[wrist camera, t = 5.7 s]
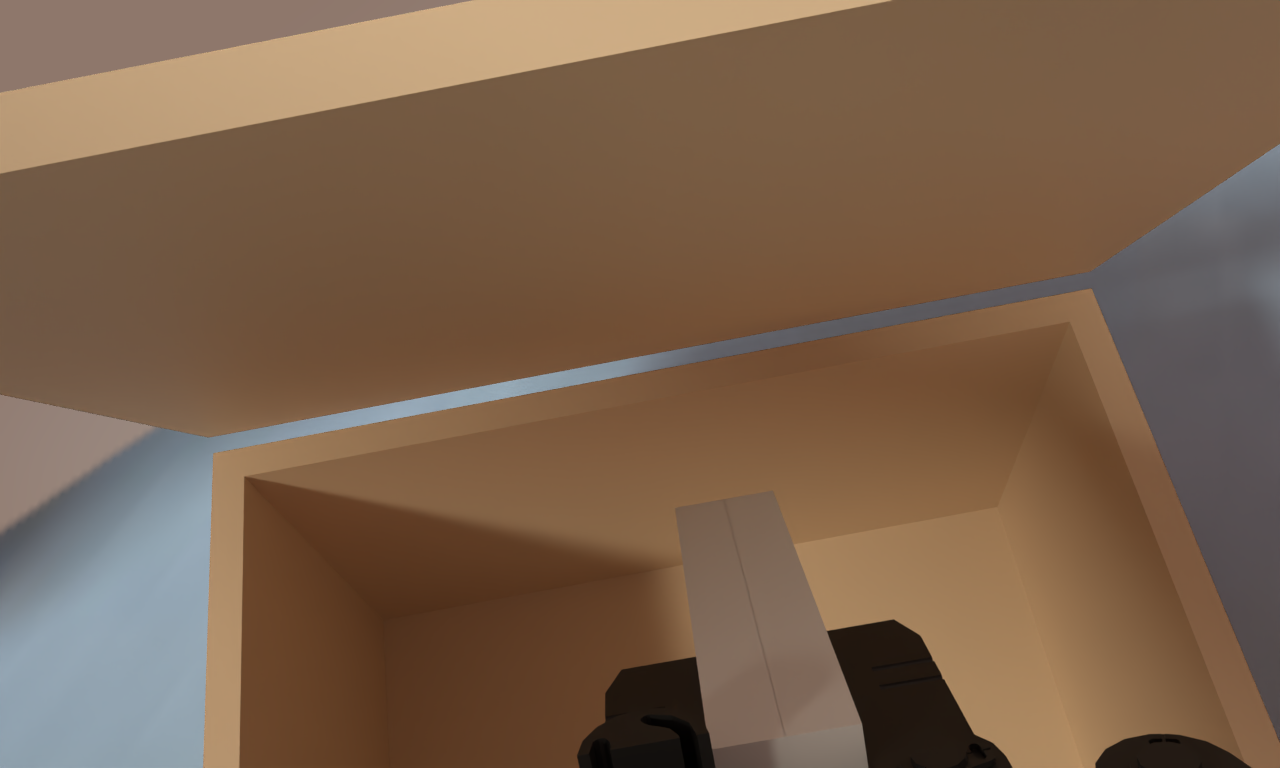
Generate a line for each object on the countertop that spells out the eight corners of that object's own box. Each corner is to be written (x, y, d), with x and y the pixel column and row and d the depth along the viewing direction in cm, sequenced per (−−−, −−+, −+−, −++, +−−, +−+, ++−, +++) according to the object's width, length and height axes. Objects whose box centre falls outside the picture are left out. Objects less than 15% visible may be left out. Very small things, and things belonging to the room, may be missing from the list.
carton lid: (1734, -164, 11) (1707, -242, 11) (-552, 280, 11) (-555, 201, 12) (1090, 271, 29) (1082, 240, 29) (208, 437, 29) (204, 405, 29)
